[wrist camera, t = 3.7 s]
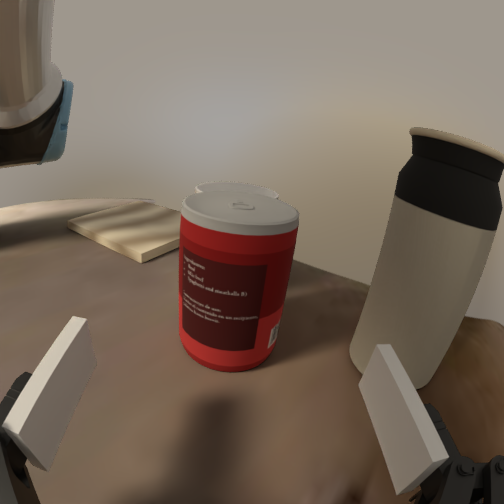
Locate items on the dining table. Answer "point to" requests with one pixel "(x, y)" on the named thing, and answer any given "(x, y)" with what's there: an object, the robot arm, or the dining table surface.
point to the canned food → (233, 276)
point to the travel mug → (431, 251)
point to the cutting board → (132, 229)
